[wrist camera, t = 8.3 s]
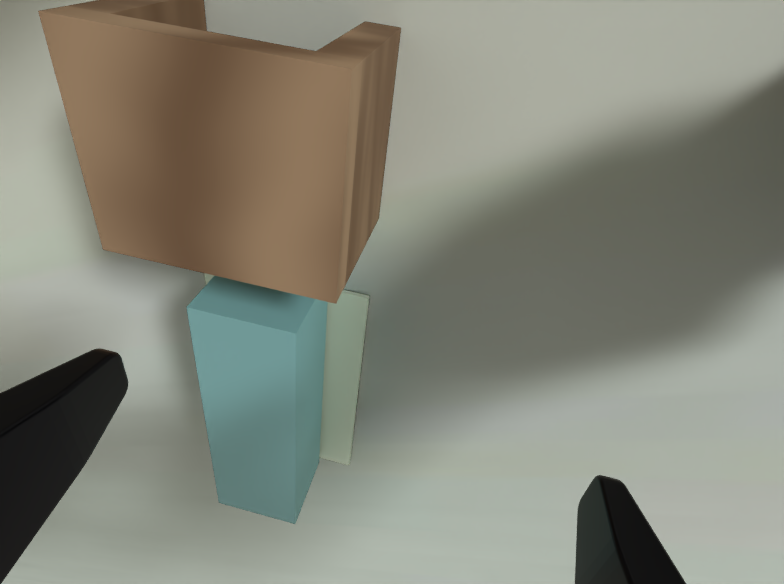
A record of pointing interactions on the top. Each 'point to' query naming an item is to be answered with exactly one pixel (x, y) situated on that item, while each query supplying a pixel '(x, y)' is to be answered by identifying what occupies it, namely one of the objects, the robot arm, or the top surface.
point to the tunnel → (226, 141)
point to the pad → (340, 373)
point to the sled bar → (260, 392)
